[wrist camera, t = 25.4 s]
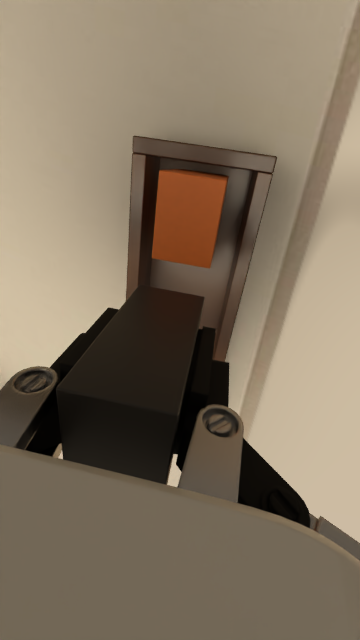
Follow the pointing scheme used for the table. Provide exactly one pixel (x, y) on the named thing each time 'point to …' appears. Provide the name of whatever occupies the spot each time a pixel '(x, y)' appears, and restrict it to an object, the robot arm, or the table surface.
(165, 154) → the holder
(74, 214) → the table surface
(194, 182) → the orange tall block
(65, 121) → the table surface
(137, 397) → the black block
